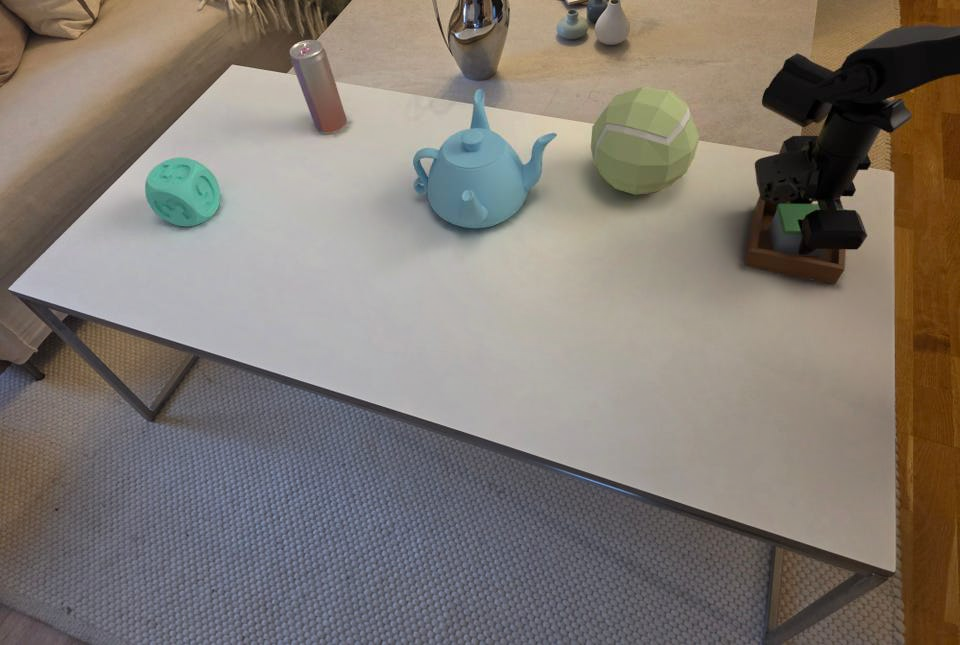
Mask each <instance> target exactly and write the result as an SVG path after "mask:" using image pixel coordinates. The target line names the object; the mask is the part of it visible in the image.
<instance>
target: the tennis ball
mask: <svg viewBox="0 0 960 645" xmlns="http://www.w3.org/2000/svg"><path fill="white" fill-rule="evenodd" d="M591 128H592V129H591V137H590V138H591V140H590V151H591V156H592V161H593V163H594V165H595V167H596V169H597V171H598V173H599V175H600V176H601V177H602V178H603V179H604V180H605V181H606V182H607V183H608V184H609V185H611V187H613V188H614V189H615V190H618V191H621V192H623V193H624V192H625V193H628V194H632V195H634V196H639V195H645V194H652V193H657V192H660V191H662V190H664V189H666V188H667V187H670V186H672V185H673V184H674V183H676V181H678V180H679V179H680V178H681V177H683V176H684V175H685V174H686V173H688V170H689V168H690V166H691V164H692V163H693V160H694V158H695V155H696V152H697V148H698V144H699V140H700V134H699V130H698V129H697V126H696V123H695V121H694V118H693V114H692V110H691V107H690V106H689V105H688V104H687V102H686V101H684V99H682V98H681V97H679V95H677V94H676V93H674V92H673V91H672V90H668V89H664V88H659V87H654V86H642V87H639V88H635V89H632V90H629V91H628V90H627V91H625V92H621V93H618V94H616V95H615V96H614V97H613V98H612V99H611V101H610V102H609V103H608V105H607V106H606V107H605V108H604V109H603V111H601V113H600V114H599V116H598V118H597V119H596V121H595V122H594V123H593V124H592V126H591Z"/></svg>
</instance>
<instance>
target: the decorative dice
mask: <svg viewBox="0 0 960 645" xmlns="http://www.w3.org/2000/svg"><path fill="white" fill-rule="evenodd" d="M149 171H150V172H148V174H147V177H146V180H145V186H144V191H145V197H146V201H147V203H148V205H149V207H150V208H151V210H152V211H153V212H154V213H155V214H156V215H157V216H158V217H159V218H161V219H163V220H164V221H166V222H168V223H170V224H172V225H175V226H179V227H194V226H198V225H201V224H202V223H205V222H207V221H208V220H209V219H211V218H212V217H213V216H214V215H215V214H216V213H217V210H218V209H219V205H220V201H221V190H220V189H221V188H220V185H219V182H218V179H217V178H216V176H215V175H214V173H213V172H212V170H210V169H209V168H208V167H207V166H206V165H204V164H202V163H201V162H199V161H198V160H194V159H192V158H188V157H183V156H181V157H180V156H179V157H172V158H169V159H166V160H164V161H162V162H160V163H158V164H157V165H155V166H154V167H153V168H152V169H151V170H149Z"/></svg>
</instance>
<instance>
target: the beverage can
mask: <svg viewBox="0 0 960 645" xmlns="http://www.w3.org/2000/svg"><path fill="white" fill-rule="evenodd" d="M289 55H290V62H291V64H292V68H293V71H294V72H295V75H296V78H297V81H298V84H299V86H300V89H301V91H302V95H303V97H304V101H305V102H306V105H307V108H308V111H309V114H310V117H311V119H312V122H313V124H314V128H315V129H316V130H317V131H318V132H319V133H322V134H325V135H326V134H327V135H330V134H331V135H332V134H335V133H339V132H341V130H343V129H344V128H345V126H346V125H347V124H346V123H347V116H346V112H345V109H344V105H343V102H342V99H341V95H340V93H339V90H338V87H337V86H338V85H337V83H336V80H335V77H334V73H333V71H332V68H331V64H330V61H329V58H328V54H327V51H326V49H325V48H324V46H323V43H322V42H321V41H319V40H316V39H306V40H305V39H304V40H301V41H299V42H296V43H294V44H293V45H292V46H291V47H290V49H289Z"/></svg>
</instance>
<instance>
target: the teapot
mask: <svg viewBox="0 0 960 645" xmlns="http://www.w3.org/2000/svg"><path fill="white" fill-rule="evenodd" d="M483 90H484V89H482V88H478V89H476V91H475V93H474V96H473V104H472V105H473V106H472V114H471V115H472V116H471V122H470V128H467V129H466V128H465V129H463V130H460V131H459V130H458V131H457V132H455V133H453V134H451V135H450V136H448V138H447V139H446V140H445V141H444V142H443V143H442V144H441V146H440V148H439V149H437V148H434V147H423V148H421V149H419V150H418V151H417V152H416V153H415V155H414V156H413V159H412V163H413V168H414V171H415V173H416V175H417V177H418V178H416V179H415V180H414V182H413V190H414V191H415V193H417V194H419V195H423V196H425V195H427V198H428V202H429V205H430V206H431V208H432V209H433V211H434V213H435V214H437V216H439V217H440V218H441V219H443V220H444V221H446V222H448V223H450V224H452V225H454V226H458V227H460V228H465V229H485V228H490V227H493V226H496V225H497V226H498V225H499V224H502V223H503V222H505V221H506V220H508V219H510V218H511V217H512V216H513V215H514V214H516V213H517V212H518V211H519V210H520V208H521V207H522V206H523V205H524V202H525V201H526V198H527V196H528V193H529V191H530V190H531V189H533V188H534V187H535V186H536V185H537V184H538V183H539V181H540V179H541V176H542V172H543V158H544V157H543V156H544V152H545V149H546V147H547V146H548V144H549V143H550V142H552V141H553V140H554V139H556V137H557V136H558V135H557V133H556V132H550V133H547V134H544V135H542V136H540V137H539V138H537V139H536V140H535V142H534V143H533V145H532V148H531V155H530V159H529V160H528V162H526V163H525V164H523V162H522V160H521V157H520V156H519V155H518V153H517V151H516V150H515V149H514V148H513V146H512V145H511V144H509V142H508V141H507V140H506V139H504V137H502V136H501V135H500V134H498V133H497V132H495V131H493V130H492V129H491V127H490V123H489V120H488V117H487V114H486V109H485V92H484V91H483ZM422 159H433V160H432V163H431V165H430V167H429V168H430V169H429V172H428V174H427V173H426V171H425V169H424V167H423V165H422V162H421V160H422Z"/></svg>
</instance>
